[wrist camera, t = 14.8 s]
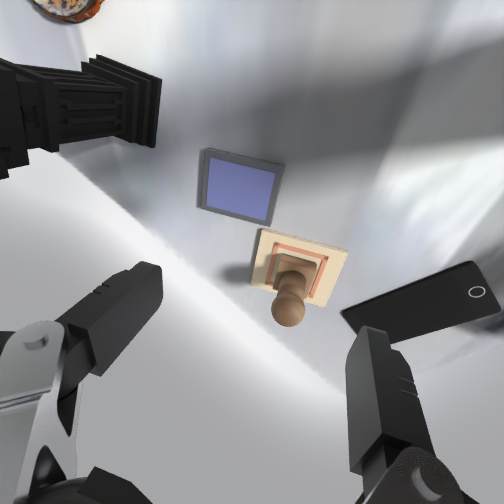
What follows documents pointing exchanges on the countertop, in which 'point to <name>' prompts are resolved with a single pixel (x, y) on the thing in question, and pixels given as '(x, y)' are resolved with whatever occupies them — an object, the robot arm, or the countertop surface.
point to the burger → (69, 9)
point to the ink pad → (240, 186)
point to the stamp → (292, 289)
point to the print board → (280, 243)
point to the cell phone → (427, 304)
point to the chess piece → (73, 107)
